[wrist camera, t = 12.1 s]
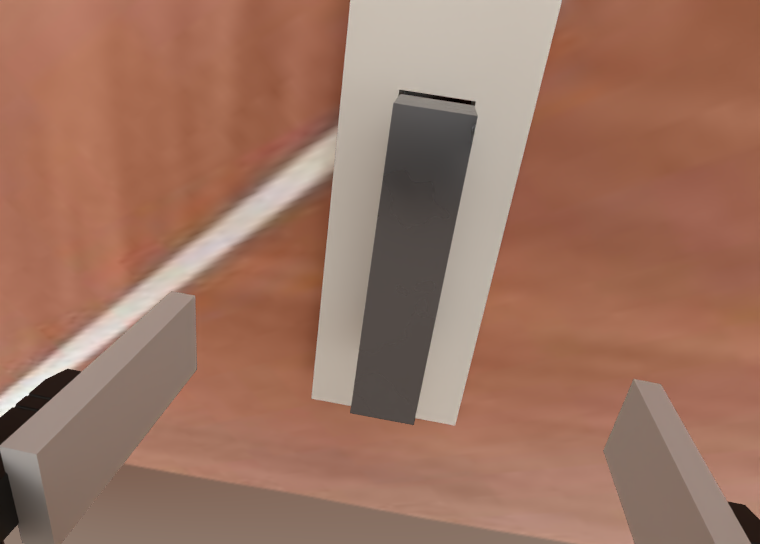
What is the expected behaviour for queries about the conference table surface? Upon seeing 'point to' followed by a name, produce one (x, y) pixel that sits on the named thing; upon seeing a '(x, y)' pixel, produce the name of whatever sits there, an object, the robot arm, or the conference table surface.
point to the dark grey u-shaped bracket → (410, 252)
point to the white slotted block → (482, 181)
